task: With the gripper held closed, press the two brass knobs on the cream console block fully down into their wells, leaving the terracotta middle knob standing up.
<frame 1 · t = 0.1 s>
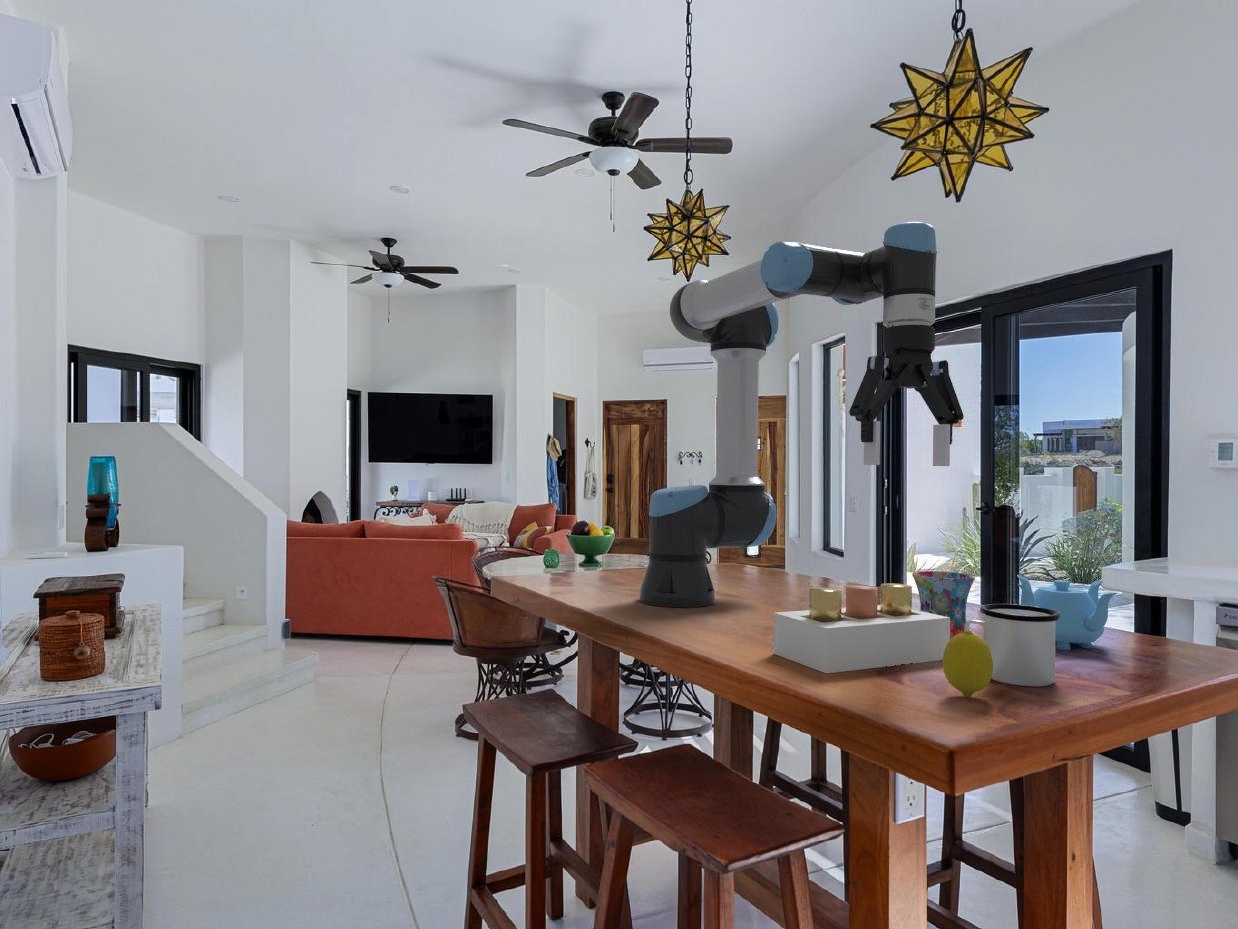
hand: (907, 465, 121), 28 cm above the table, fingers open, 13 cm apart
lemon: (967, 698, 95), on the table
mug: (947, 641, 127), on the table
knob far: (896, 602, 118), point 8 cm above the table, slide at 0.0 cm
console: (860, 656, 115), on the table
knob mid: (861, 604, 115), point 8 cm above the table, slide at 0.0 cm
mug 2: (1008, 678, 105), on the table
teapot: (1062, 646, 125), on the table
knob near: (825, 607, 113), point 8 cm above the table, slide at 0.0 cm
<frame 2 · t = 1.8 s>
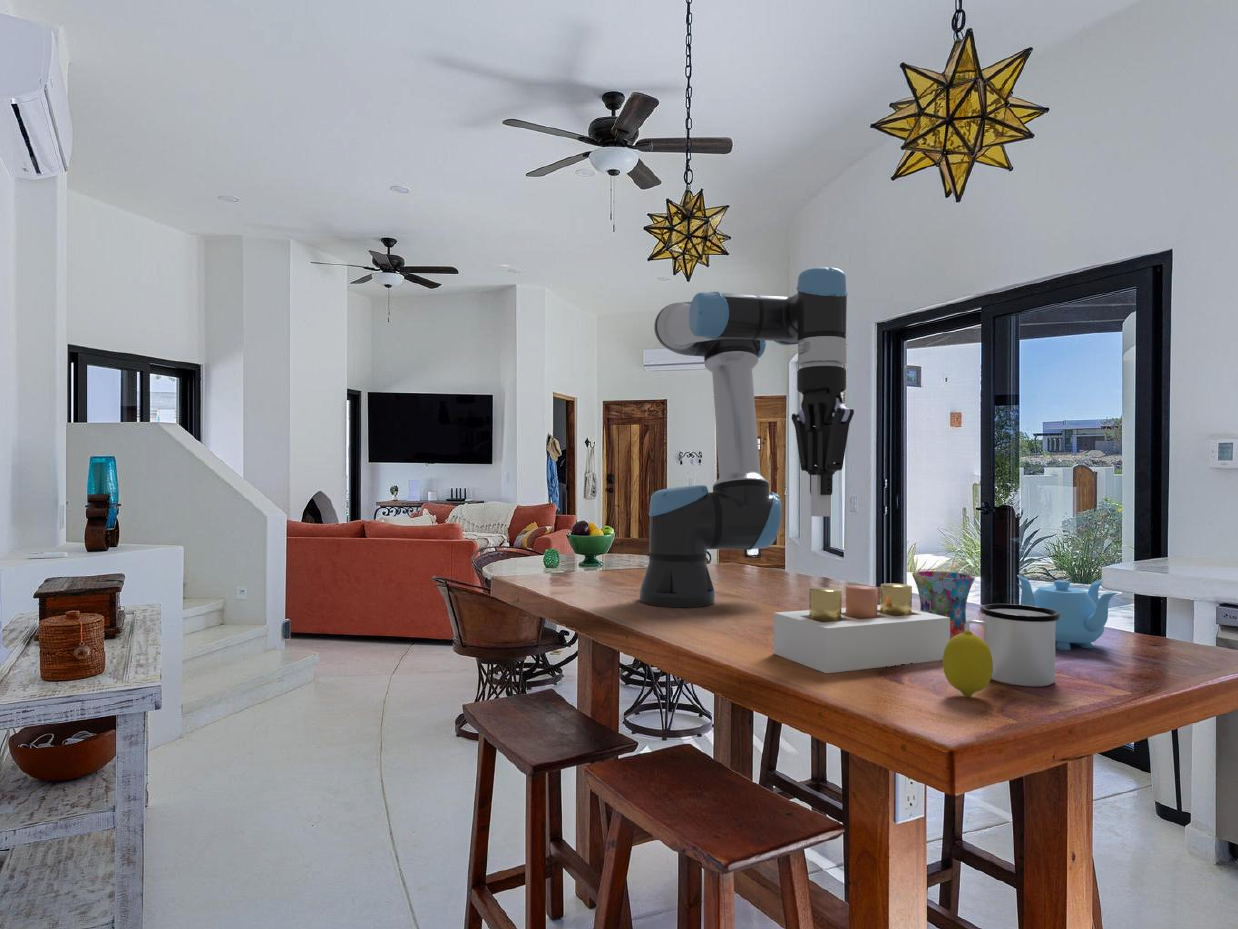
hand: (820, 516, 125), 20 cm above the table, fingers closed
nothing on the table moved.
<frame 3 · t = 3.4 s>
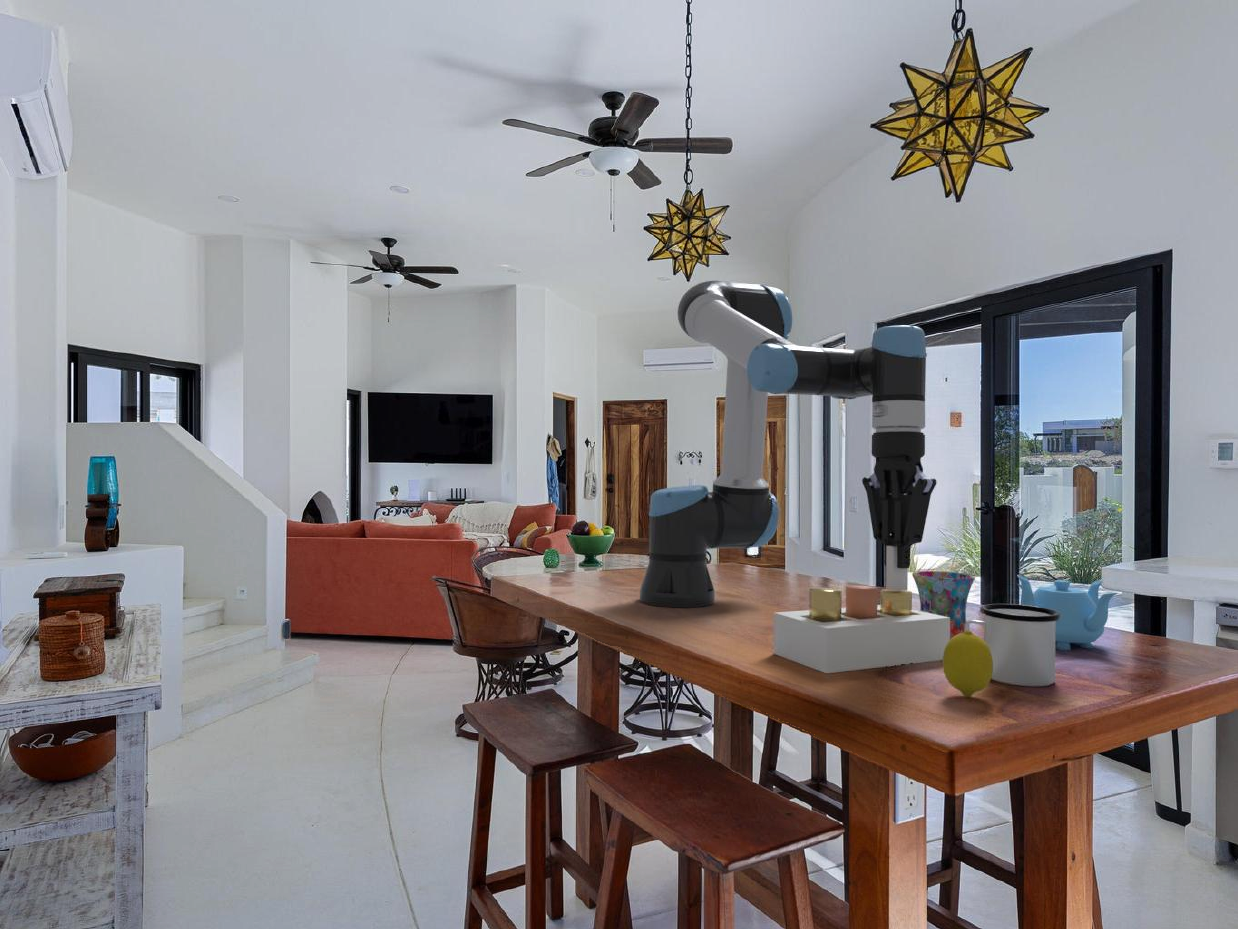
hand: (896, 589, 118), 9 cm above the table, fingers closed
knob far: (895, 608, 118), point 7 cm above the table, slide at 0.9 cm, touching gripper
everything else where it was.
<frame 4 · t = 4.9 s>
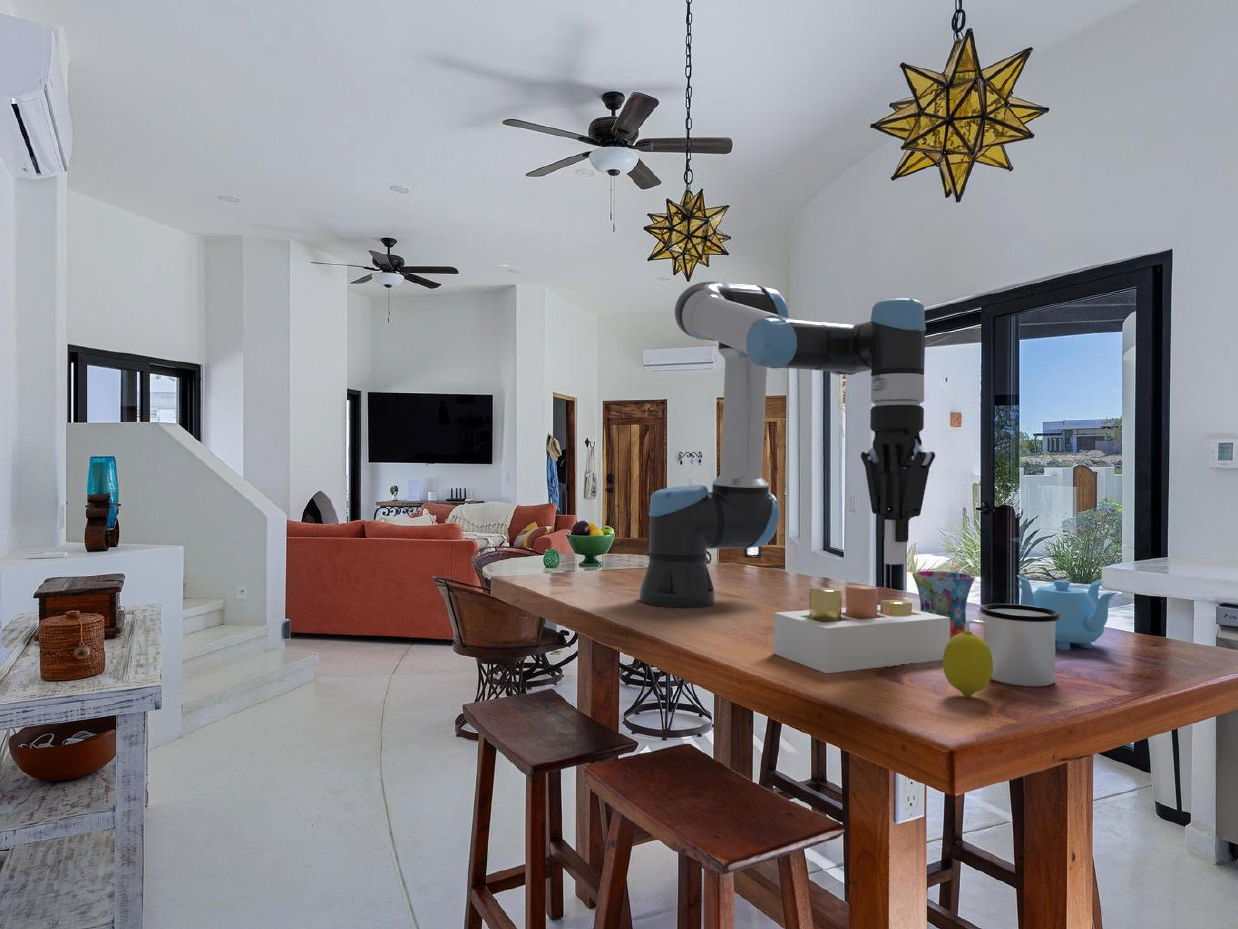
hand: (894, 563, 118), 13 cm above the table, fingers closed
knob far: (895, 619, 118), point 5 cm above the table, slide at 2.5 cm
everything else where it was.
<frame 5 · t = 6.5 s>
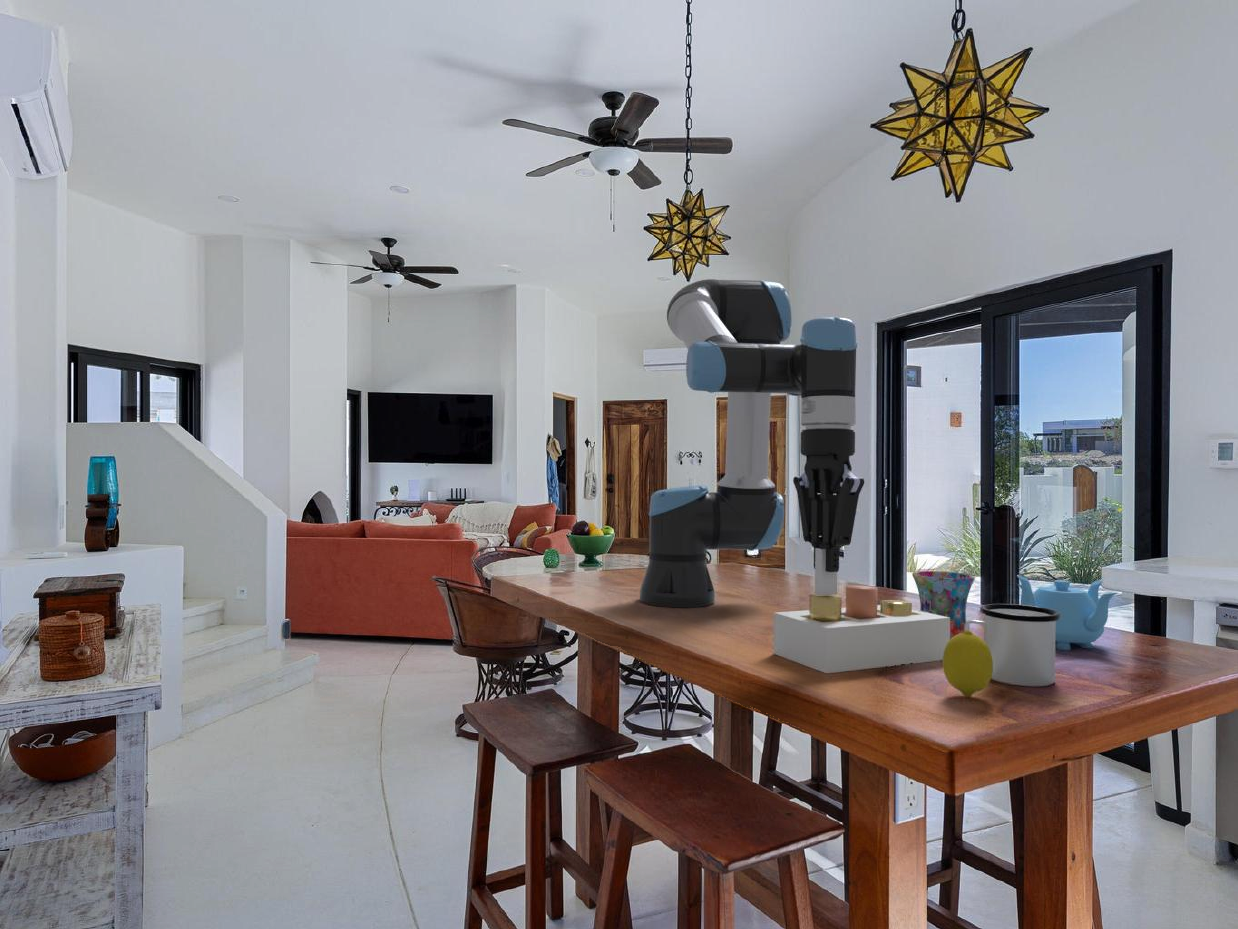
hand: (825, 594, 112), 9 cm above the table, fingers closed
knob near: (825, 613, 113), point 7 cm above the table, slide at 0.9 cm, touching gripper
everything else where it was.
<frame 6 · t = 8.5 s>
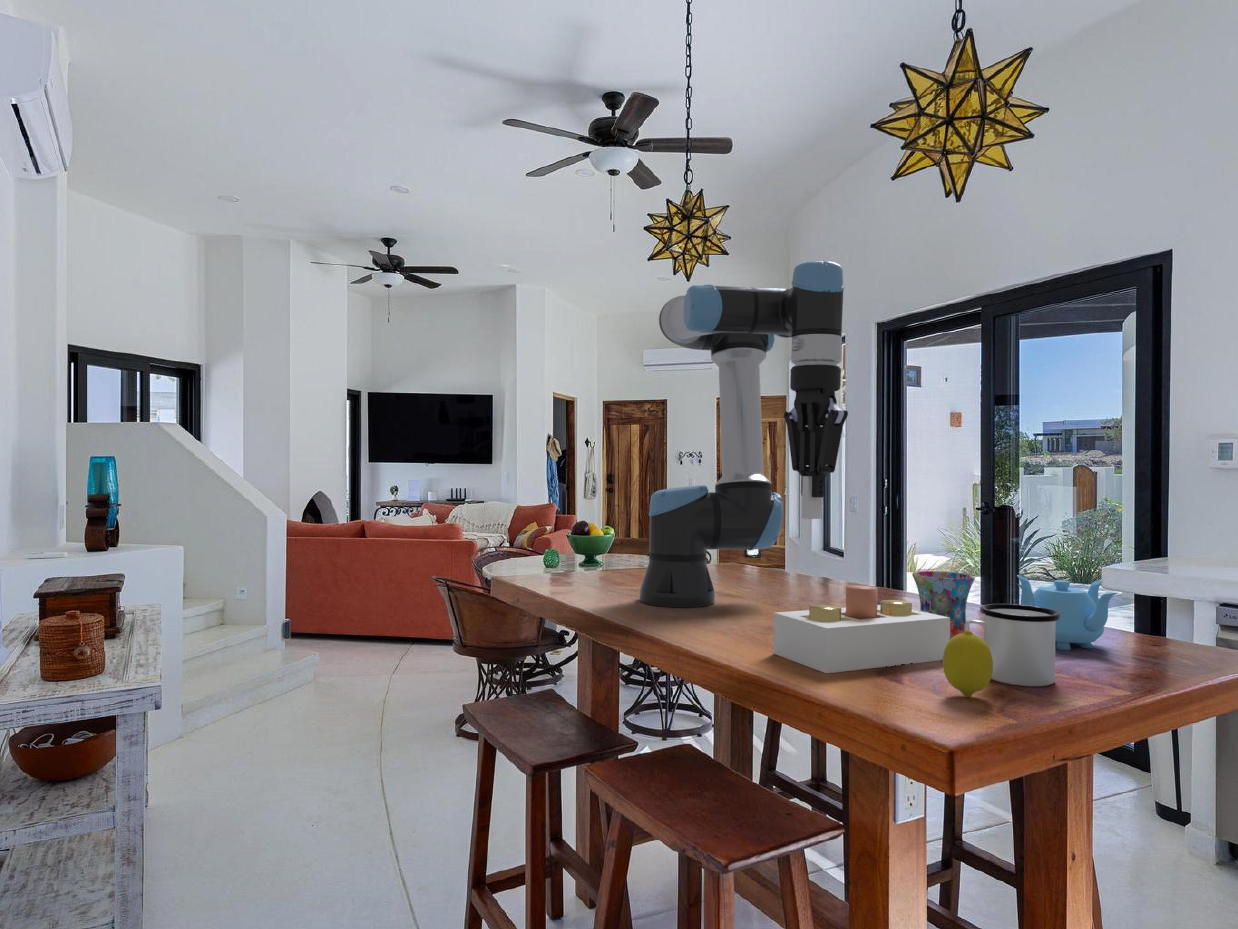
hand: (811, 518, 122), 20 cm above the table, fingers closed
knob near: (825, 625, 113), point 5 cm above the table, slide at 2.5 cm
everything else where it was.
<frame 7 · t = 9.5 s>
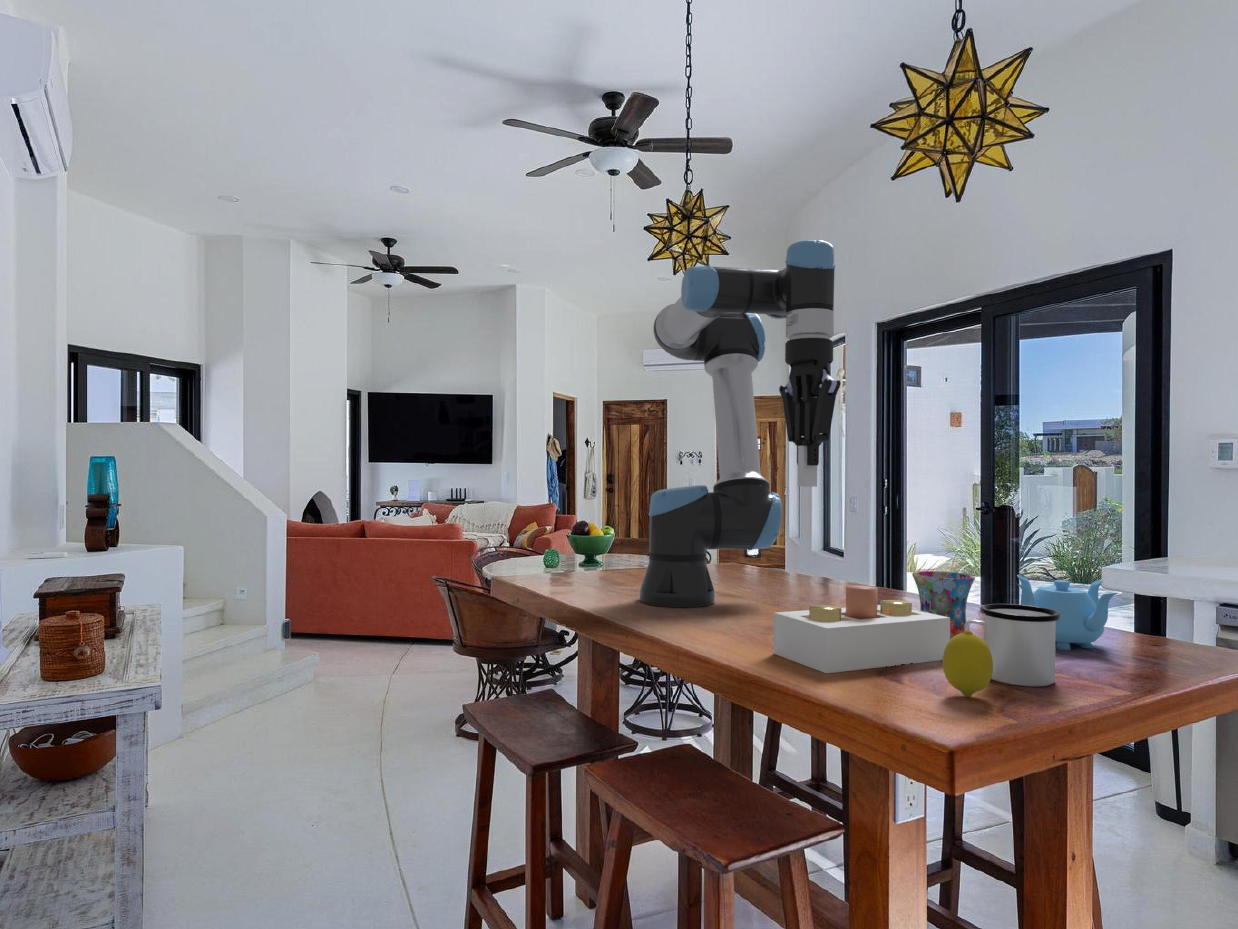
hand: (807, 486, 127), 24 cm above the table, fingers closed
nothing on the table moved.
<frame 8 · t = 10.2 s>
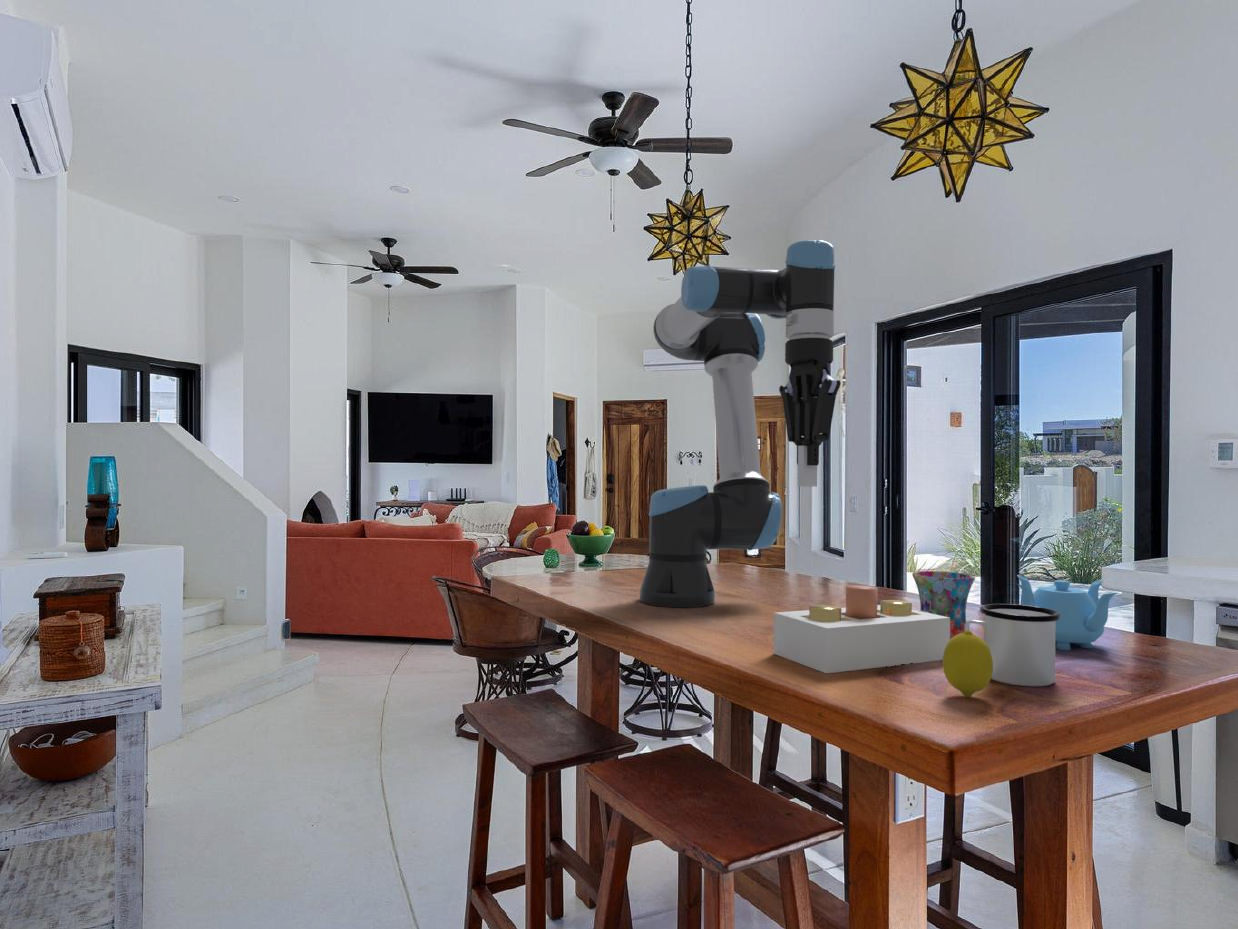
hand: (807, 486, 127), 24 cm above the table, fingers closed
nothing on the table moved.
at the end: knob far slide at 2.5 cm; knob near slide at 2.5 cm; knob mid slide at 0.0 cm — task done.
